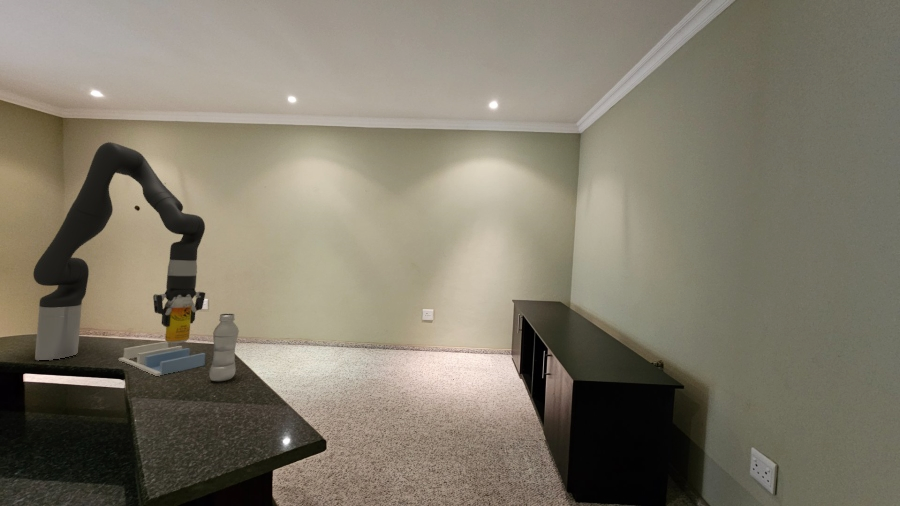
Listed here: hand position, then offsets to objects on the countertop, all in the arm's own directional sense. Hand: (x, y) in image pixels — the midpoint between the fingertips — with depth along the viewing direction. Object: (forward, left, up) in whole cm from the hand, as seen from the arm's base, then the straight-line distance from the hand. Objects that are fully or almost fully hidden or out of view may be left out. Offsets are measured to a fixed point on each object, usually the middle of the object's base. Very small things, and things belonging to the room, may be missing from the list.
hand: (178, 324), depth 109 cm
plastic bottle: (+22, +2, -14) cm, 26 cm away
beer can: (0, 0, -6) cm, 6 cm away
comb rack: (-7, 0, -14) cm, 16 cm away
